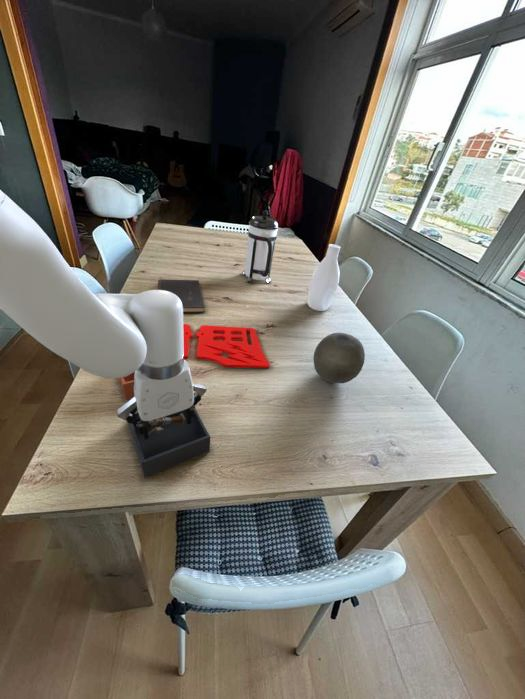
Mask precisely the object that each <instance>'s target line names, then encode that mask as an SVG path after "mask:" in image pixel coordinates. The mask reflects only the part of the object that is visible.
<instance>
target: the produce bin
mask: <svg viewBox="0 0 525 699" xmlns="http://www.w3.org/2000/svg"><path fill="white" fill-rule="evenodd" d="M118 380H119V382H120V385H121V389H122V393H123V396H124V398H125V400H131V399H132V398H133V397H134V375H133V374H130V375H128V376H125V377H121V378H118Z"/></svg>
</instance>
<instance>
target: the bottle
mask: <svg viewBox="0 0 525 699" xmlns="http://www.w3.org/2000/svg"><path fill="white" fill-rule="evenodd" d="M327 247H328V248H327V251H326V254H325V257H323V259H322V260H321V261H320V262H319V263H318V264H317V266H316V268H315V269H314V271H313V273H312V275H311V278H310V281H309V287H308V291H307V292H308V293H307V303H306V304H307V306H308V307H309V308H310V309H312V310H314V311H317V312H324V311H327V310H328V309H329V308H330V306H331V303H332V302H333V300H334V297H335V295H336V292H337V289H338V287H339V283H340V266H339V262H338V259H339V258H338V257H339V254H340V250H341V249H342V248H341V245H338V244H336V243H335V244H334V243H329V244H328V246H327Z"/></svg>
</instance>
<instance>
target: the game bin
mask: <svg viewBox="0 0 525 699" xmlns="http://www.w3.org/2000/svg"><path fill="white" fill-rule="evenodd" d="M136 411H137V407H136V408H134V409H133V410H132V411H131V412H132V413H135V412H136ZM180 414H183V411H180V412H177V413H174V414H171V415H167V416H164V417H161V418H158V419H162V418H169V417H170V418H174V417H178V416H180ZM147 422H148V421H146V425H147V429H148V428H149V426H150V424H148V423H147ZM127 425H128V428H129V431H130V434H131V438H132V442H133V445H134V448H135V452H136V455H137V459H138V461H139V465H140V468H141V471H142V472H141V473H142V475H143V478H144V479H147V478H148V477H151V476H154V475H156V474H158V473H161V472H163V471H166V470H168V469H170V468H171V469H172V468H173V467H176V466H178V465H180V464H183V463H185V462H189V461H190V460H192V459H195V458H197V457H199V456H202V455H205V454H207V453H209V452H210V450H211V435H210V434H209V432H208V430H207V427H206V426H205V424H204V422H203V420H202V419H201V416H200V414H199V412H198V410H197V409H196V408H195V409H194V410H193V417H191V424H187V422H186V420H185V422H184V424H183V425H181V424H180V423H170V424H164V425H162V424H158V425H157V426H155V427H156V428H158V427H161V428H163V431H162V432H161V433H157V434H155V432H154V433H153V432H151V434H150V435H149V436H148V437H149V438H148V439H145V438H144V435H143V434H141V435H140V434H139V431H138V427H137V425H135V424H131V423H128V422H127ZM155 427H154V428H153V429H155ZM153 429H152V430H153Z"/></svg>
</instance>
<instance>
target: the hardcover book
mask: <svg viewBox="0 0 525 699" xmlns="http://www.w3.org/2000/svg"><path fill="white" fill-rule="evenodd" d="M157 284H158V285H157V286H158V289H157V290H165V291H169V292H171V293H173V294H175V295H177V296H178V297H179V299H180V300H181V302H182V305H183V314H204V313H205V308H206V307H205V302H204V298H203V294H202V290H201V284H200V280H199V279H198V280H197V279H162V278H160V279H158V282H157Z"/></svg>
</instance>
